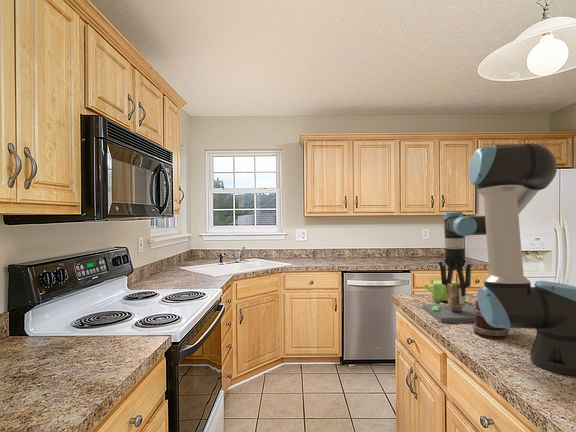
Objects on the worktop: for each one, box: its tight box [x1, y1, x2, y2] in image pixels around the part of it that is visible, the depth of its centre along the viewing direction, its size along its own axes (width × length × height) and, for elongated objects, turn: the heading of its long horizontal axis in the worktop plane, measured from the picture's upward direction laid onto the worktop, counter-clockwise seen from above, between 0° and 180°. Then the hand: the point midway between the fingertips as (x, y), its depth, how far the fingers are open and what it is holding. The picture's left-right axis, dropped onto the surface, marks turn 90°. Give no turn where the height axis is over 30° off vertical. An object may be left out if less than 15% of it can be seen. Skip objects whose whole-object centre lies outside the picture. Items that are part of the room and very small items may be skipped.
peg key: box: [439, 282, 466, 313], centre depth 152 cm, size 11×7×12 cm, turn 21°
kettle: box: [423, 279, 457, 304], centre depth 174 cm, size 15×14×11 cm
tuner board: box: [422, 303, 475, 324], centre depth 151 cm, size 22×20×3 cm
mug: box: [471, 299, 510, 340], centre depth 127 cm, size 12×14×15 cm
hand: (456, 302), depth 149 cm, fingers closed on peg key, 4 cm apart
